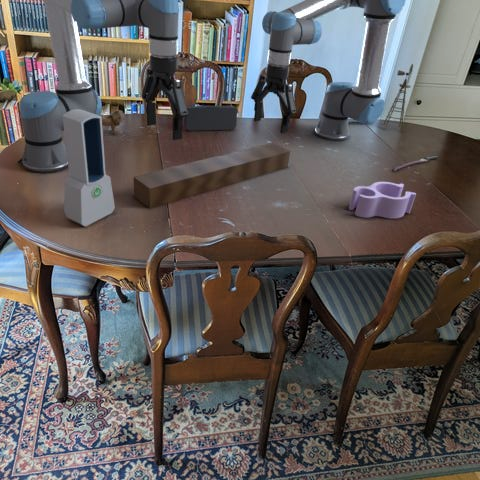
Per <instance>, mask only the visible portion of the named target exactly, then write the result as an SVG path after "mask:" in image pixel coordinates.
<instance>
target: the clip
mask: <svg viewBox="0 0 480 480" xmlns="http://www.w3.org/2000/svg"><path fill="white" fill-rule="evenodd" d="M404 187H405V184H404V183H399V184H398V183H395V182H389V181H376V182H373V183H372V184H371V185H368V186H367V185H365V186H364V185H358V186H356V187H354V188H353V190H352V195H351V199H350V203H349V207H348V210H350V211H353V210H354V209H355V208H356V209H355V211H354V216H356V217H359V218H363V219H364V218H365V219H366V218H368V219H369V218H373V217H381V218H385V219H393V220H394V219H400V218H402V217H404V215H405V214H411V210H412V208H413V205H414V201H415V198H416V195H417V193H416V192H413V191H405V193H404V196H402V193H403V190H404Z"/></svg>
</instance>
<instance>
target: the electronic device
mask: <svg viewBox="0 0 480 480" xmlns="http://www.w3.org/2000/svg"><path fill="white" fill-rule="evenodd" d="M102 117H103V116H99V115H96V114H93V113H90V112H87V111H84V110H80V109H74V110H71V111H69V112H67V113H65V114H64V115H63V125H64V131H63V133H64V141H65V147H66V150H67V159H68V167H67V168H68V174H69V176H68V177H67V179H66V181H64V194H63V195H64V196H63V197H64V198H63V212H64V215H65V217H66V218H67V219H69V220H70V221H73V222H75V223H77V224H78V225H81V226H83V227H88V226H90V225H91V224H93V223H95V222H97V221H99V220H101V219H103V218H105V217H107V216H109V215H111V214H112V213H113V212H114V210H115V209H116V206H115V200H114V199H115V198H114V194H113V193H114V191H113V186H112V179H111V176H109V175H108V174H106V160H105V146H104V132H103V131H104V130H103V125H102Z"/></svg>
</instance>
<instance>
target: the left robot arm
mask: <svg viewBox="0 0 480 480" xmlns="http://www.w3.org/2000/svg"><path fill="white" fill-rule="evenodd" d="M42 1H43V4H44V9H45V14H46V20H47V25H48V30H49V37H50V42H51V47H52V52H53V58H54V63H55V68H56V73H57V78H58V83H57V84H56V85H55V87H54V89H55V92H54V91H51V90H37V91H32V92H29V93H26V94H24V95H23V96H22V97H21V98H20V100H19V103H18V104H19V116H20V119H21V126H22V132H23V137H24V148H23V153H22V157H20V159H19V160H18V161H17V164H21V163H22V166H23V168H24V169H25V170H27V171H29V172H33V173H39V174H46V173H56V172H61V171H63V170H66V169H67V168H68V159H67V150H66V144H65V143H64V140H63V132H64V125H63V115H64V114H65V113H67V112H69V111H71V110H74V109H80V110H84V111H87V112H90V113H93V114H96V115H99V116H101V115H102V111H103V104H102V99H101V97H100V96H99V94H98V92H97V90H95V89H93V87H92V84H91V83H90V82H89V81H88V80H87V79H86V74H85V67H84V61H83V53H82V48H81V43H80V36H79V35H80V34H79V30H78V29H79V28H81V29H83V30H94V31H95V30H99V29H109V28H110V29H111V28H122V27H123V28H124V27H135V26H136V27H143V28H146V29H148V32H149V33H148V35H149V36H148V46H149V47H148V48H149V49H148V51H149V54H150V56H149V68H147V69H146V77H145V81H144V84H143V88H142V92H141V99H143V100H144V102H145V103H146V105H145V106H146V125H147V126H148V127H149V126H154V125H157V102H156V98H157V97H158V95H159V93H160V91H162V92H163V93H164V95H165V96H166V97H167V100H168V102H169V104H170V108H171V110H172V113H173V116H172V140H173V141H179V140H183V128H184V117H187V116H188V110H187V107H188V106H187V102H186V98H185V94H184V90H183V80H182V78H176V77H175V73H176V72H177V71H178V70H179V58H178V56H177V55H178V54H179V14H180V9H179V0H42ZM78 27H79V28H78Z"/></svg>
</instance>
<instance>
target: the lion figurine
mask: <svg viewBox="0 0 480 480" xmlns="http://www.w3.org/2000/svg"><path fill="white" fill-rule="evenodd" d="M124 119H125V116H124V111H122V110H121V109H117V110H115V111H114V112H112V113H110V114H109V115H108V116H102V127H110V131H111V133H112V134H113V135H117V132H116V127H118V126H120V125H121V124H122V123H123V121H124Z"/></svg>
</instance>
